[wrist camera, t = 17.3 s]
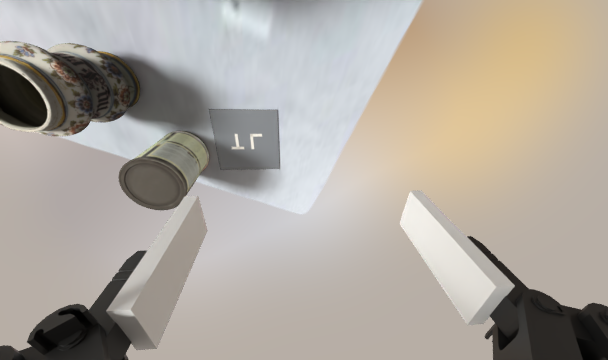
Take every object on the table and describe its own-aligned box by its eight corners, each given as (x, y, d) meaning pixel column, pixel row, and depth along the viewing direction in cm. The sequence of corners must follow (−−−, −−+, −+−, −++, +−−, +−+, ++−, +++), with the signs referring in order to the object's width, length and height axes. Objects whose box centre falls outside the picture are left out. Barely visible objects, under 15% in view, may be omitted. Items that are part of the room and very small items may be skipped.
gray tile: (209, 109, 45) (208, 109, 45) (277, 109, 46) (277, 109, 46) (220, 169, 52) (220, 169, 52) (279, 168, 53) (279, 168, 53)
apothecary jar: (104, 29, 37) (-23, 13, 22) (160, 94, 43) (91, 118, 28) (57, 67, 40) (-88, 78, 24) (116, 124, 45) (30, 162, 30)
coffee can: (203, 179, 53) (178, 217, 40) (156, 163, 50) (115, 199, 37) (215, 142, 48) (192, 173, 36) (164, 122, 45) (121, 148, 33)
